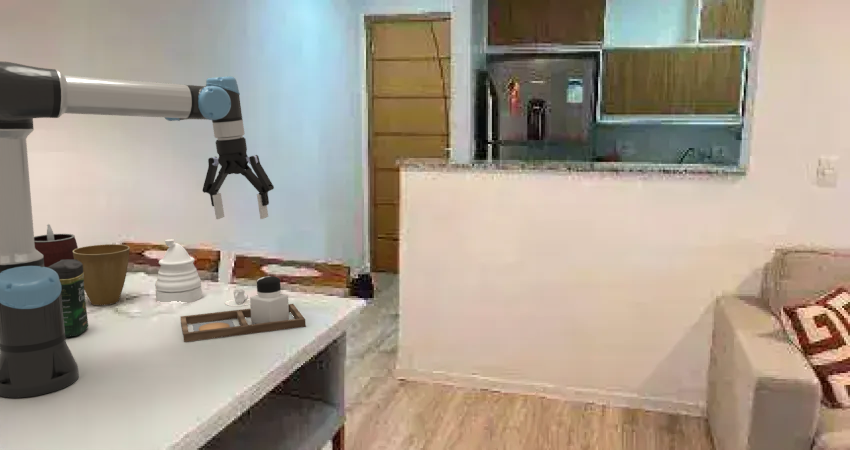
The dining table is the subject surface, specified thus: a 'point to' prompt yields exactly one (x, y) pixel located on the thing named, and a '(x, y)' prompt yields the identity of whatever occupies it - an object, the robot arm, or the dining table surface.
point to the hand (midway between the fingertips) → (242, 218)
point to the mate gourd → (55, 246)
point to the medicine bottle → (269, 302)
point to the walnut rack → (236, 330)
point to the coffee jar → (72, 295)
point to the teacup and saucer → (238, 297)
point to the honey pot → (177, 276)
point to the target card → (213, 325)
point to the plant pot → (103, 271)
